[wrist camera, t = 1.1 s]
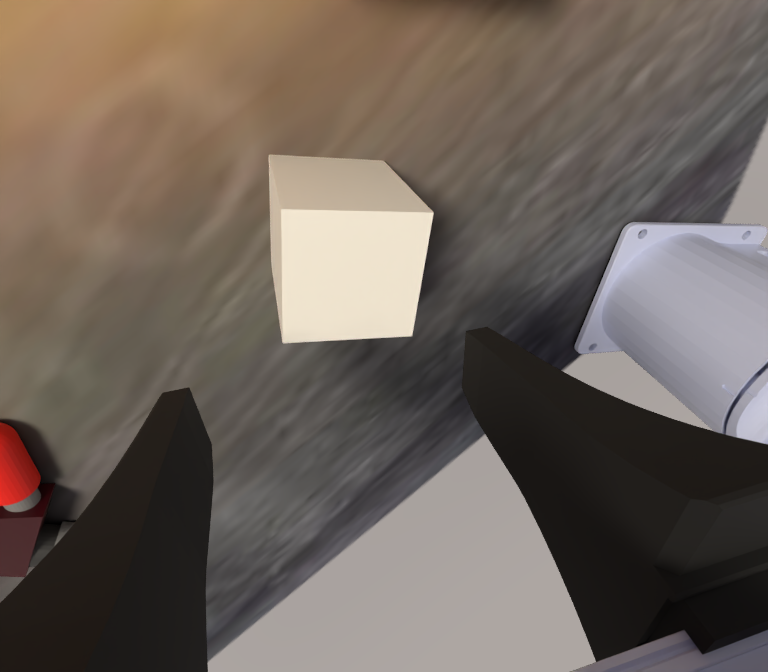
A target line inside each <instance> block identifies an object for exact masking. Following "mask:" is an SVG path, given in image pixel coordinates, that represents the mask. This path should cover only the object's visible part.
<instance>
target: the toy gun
mask: <svg viewBox="0 0 768 672" xmlns="http://www.w3.org/2000/svg"><path fill="white" fill-rule="evenodd" d="M40 480H41V477H40V474H39V472H38V470H37V468H36V467H35V465H34V463H33V461H32V459H31V457H30V455H29V454H28V452H27V450H26V448H25V446H24V444H23V443H22V441H21V439H20V437H19V435H18V433H17V432H16V431H15V430H14V429H13V428H12V427H11V426H9V425H7V424H5V423H1V422H0V576H9V577H26V574H27V571H28V568H29V567H36V566H37V565H38V564H39V562H40V561H41V560H42V559H43V558H44V557H45V556H46V555H47V554H48V553H49V552H50V551H51V550H52V549H53V548H54V546H55V545H56V544H57V543H58V542H59V541H60V540H61V538H62V537H63V536H64V535H65V534H66V532H67V531H68V530H69V529H70V528H71V527H72V525H73V524H74V523H75V522H63V521H62V524H61V525H55V524H44V521H45V517H46V514H47V510H48V507H49V504H50V500H51V497H52V493H53V490H54V487H55V483H46V484H40Z"/></svg>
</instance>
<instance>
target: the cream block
mask: <svg viewBox="0 0 768 672" xmlns="http://www.w3.org/2000/svg"><path fill="white" fill-rule="evenodd" d="M269 189H270V231H271V265H272V272H273V279H274V286H275V293H276V300H277V307H278V314H279V321H280V328H281V335H282V342H283V343H296V342H314V341H332V340H351V339H369V338H387V337H406V336H412V334H413V328H414V322H415V317H416V311H417V305H418V300H419V294H420V288H421V282H422V277H423V271H424V265H425V260H426V254H427V248H428V242H429V237H430V231H431V225H432V220H433V214H434V212H433V211H432V210H431V209H430V208H429V207H428V206H427V205H426V204H425V203H424V202H423V201H422V200H421V199H420V198H419V197H418V196H417V195H416V194H415V193H414V192H413V191H412V190H411V189H410V188H409V186H408V185H407V184H406V183H405V182H404V181H403V180H402V179H401V178H400V177H399V176H398V175H397V174H396V173H395V172H394V171H393V170H392V169H391V168H390V167H389V166H388V165H387V164H386V163H385V162H384V161H380V160H361V159H342V158H323V157H304V156H285V155H269Z"/></svg>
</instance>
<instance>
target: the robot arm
mask: <svg viewBox="0 0 768 672" xmlns="http://www.w3.org/2000/svg"><path fill="white" fill-rule="evenodd" d="M641 230H642V231H641ZM640 231H641V233H640V234H639V232H640ZM638 234H639V235H638ZM766 234H767V227H765V226H763V225H760V224H715V223H660V222H631V223H629V224H627V225H626V226H625V227H624V228H623V230H622V232H621V234H620V237H619V239H618V242H617V244H616V246H615V249H614V251H613V254H612V256H611V259H610V261H609V263H608V266H607V268H606V271H605V273H604V275H603V278H602V280H601V283H600V285H599V288H598V290H597V292H596V295H595V297H594V300H593V302H592V304H591V307H590V309H589V312H588V314H587V317H586V319H585V321H584V324H583V326H582V329H581V331H580V333H579V336H578V338H577V341H576V343H575V346H574V348H575V350H576V351H577V352H578V353H579V354H588V353H601V352H614V351H624V352H625V353H626V354H628V355H629V356H630V357H631V358H632V359H633V360H634V361H635V362H637V363H638V364H639V365H640V366H641V367H642V368H643V369H644V370H646V371H647V372H648V373H649V374H650V375H651V376H652V377H654V378H655V379H656V380H657V381H658V382H659V383H660V384H662V385H663V386H664V387H665V388H666V389H667V390H668V391H669V392H670V393H672V394H673V395H674V396H675V397H676V398H677V399H678V400H679V401H681V402H682V403H683V404H684V405H685V406H686V407H687V408H688V409H690V410H691V411H692V412H693V413H694V414H695V415H696V416H698V417H699V418H700V419H701V420H702V421H703V422H704V423H705V424H706V425H708V426H709V427H710V428H711V429H712V430H713V431H711V430H707V429H704V428H700V427H696V426H693V425H690V424H687V423H684V422H681V421H677V420H674V419H671V418H668V417H665V416H663V415H660V414H657V413H654V412H651V411H648V410H646V409H643V408H640V407H638V406H635V405H633V404H630V403H628V402H625V401H623V400H620V399H618V398H616V397H614V396H611V395H609V394H607V393H605V392H602V391H600V390H598V389H596V388H594V387H591V386H589V385H588V384H586V383H584V382H582V381H580V380H578V379H576V378H574V377H572V376H570V375H568V374H566V373H564V372H563V371H561V370H559V369H557V368H555V367H554V366H552V365H550V364H548V363H546V362H545V361H543V360H541V359H540V358H538V357H536V356H535V355H533V354H531V353H530V352H528V351H526V350H525V349H523V348H521V347H520V346H518V345H516V344H515V343H513V342H512V341H510V340H508V339H507V338H505V337H503V336H502V335H500V334H498V333H497V332H495V331H493V330H491V329H490V328H488V327H484V328H479V329H474V330H469V331H466V338H465V352H464V365H463V379H462V389H463V391H464V393H465V396H466V398H467V400H468V403H469V405H470V407H471V409H472V411H473V413H474V416H475V418H476V419H477V421H478V423H479V424H480V426H481V428H482V429H483V431H484V433H485V434H486V436H487V437H488V439H489V441H490V442H491V444H492V446H493V447H494V449H495V450H496V452H497V453H498V455H499V457H500V458H501V460H502V461H503V463H504V465H505V466H506V468H507V469H508V471H509V473H510V474H511V475H512V477H513V479H514V480H515V482H516V484H517V485H518V487H519V489H520V491H521V493H522V494H523V496H524V498H525V500H526V502H527V504H528V506H529V508H530V510H531V512H532V514H533V516H534V518H535V520H536V522H537V524H538V526H539V528H540V530H541V532H542V534H543V537H544V539H545V541H546V543H547V545H548V548H549V550H550V552H551V554H552V556H553V558H554V560H555V562H556V565H557V567H558V569H559V572H560V574H561V576H562V579H563V581H564V583H565V586H566V588H567V590H568V593H569V595H570V597H571V600H572V602H573V604H574V607H575V609H576V611H577V614H578V617H579V619H580V622H581V624H582V627H583V629H584V631H585V634H586V636H587V639H588V642H589V644H590V647H591V649H592V652H593V655H594V657H595V660H596V662H595V663H593V664H590V665H587V666H585V667H582V668H579V669H576V670H573V671H571V672H768V249H767V248H765V247H763V246H761V245H760V244H761V242H762V241H763V239H764V237H765V236H766ZM212 494H213V460H212V444H211V441H210V439H209V436H208V434H207V431H206V429H205V426H204V424H203V421H202V419H201V416H200V414H199V411H198V409H197V406H196V403H195V401H194V398H193V396H192V393H191V391H190V388H184V389H179V390H174V391H169V392H164V393H162V395H161V396H160V397H159V399H158V401H157V402H156V404H155V406H154V407H153V409H152V411H151V412H150V414H149V416H148V417H147V419H146V421H145V422H144V424H143V426H142V427H141V429H140V431H139V432H138V434H137V435H136V437H135V439H134V440H133V442H132V443H131V445H130V446H129V448H128V450H127V451H126V453H125V454H124V456H123V457H122V459H121V460H120V462H119V463H118V465H117V466H116V468H115V469H114V471H113V472H112V474H111V475H110V476H109V478H108V479H107V481H106V482H105V483H104V485H103V486H102V488H101V489H100V490H99V492H98V493H97V494H96V496H95V497H94V499H93V500H92V501H91V503H90V504H89V505H88V506H87V508H86V509H85V510H84V512H83V513H82V514H81V515H80V517H79V518H78V519H77V520H76V522H75V523H74V524H73V525H72V527H71V528H70V529H69V530H68V531H67V532H66V534H65V535H64V536H63V537H62V538H61V540H60V541H59V542H58V543H57V544H56V545H55V546H54V548H53V549H52V550H51V551H50V552H49V553H48V554H47V555H46V556H45V557H44V558H43V559H42V560H41V561H40V562H39V564H38V565H37V566H36V567H35V568H34V569H33V570H32V571H31V572H30V573H29V574H28V575H27V576H26V577H25V578H24V579H23V580H22V581H21V582H20V584H19V585H18V586H17V587H16V588H15V589H14V590H13V591H12V592H11V593H10V594H9V595H8V596H7V597H6V598H5V599H4V600H3V601H2V602H1V603H0V672H208V667H207V637H206V566H207V554H208V543H209V531H210V519H211V507H212Z"/></svg>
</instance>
